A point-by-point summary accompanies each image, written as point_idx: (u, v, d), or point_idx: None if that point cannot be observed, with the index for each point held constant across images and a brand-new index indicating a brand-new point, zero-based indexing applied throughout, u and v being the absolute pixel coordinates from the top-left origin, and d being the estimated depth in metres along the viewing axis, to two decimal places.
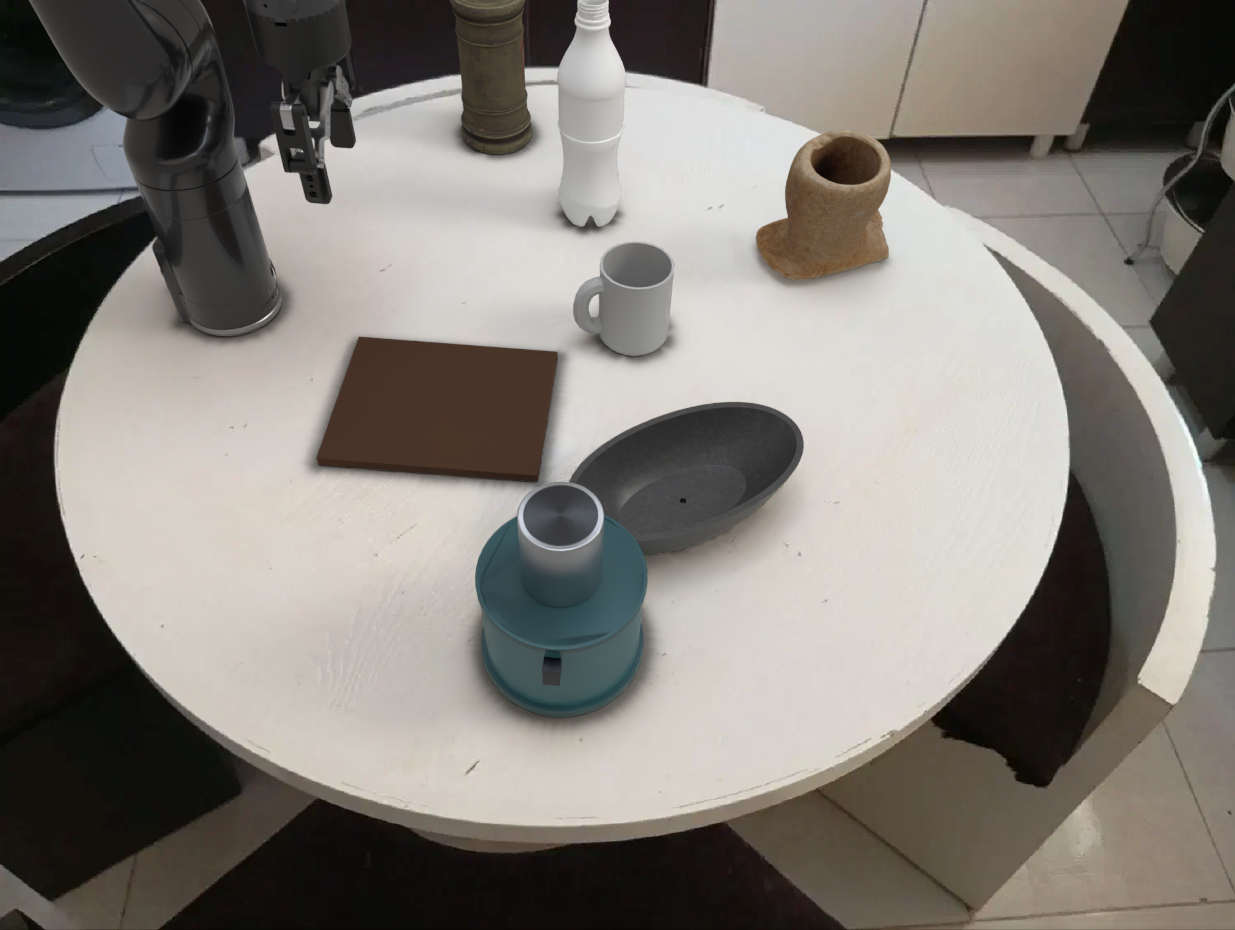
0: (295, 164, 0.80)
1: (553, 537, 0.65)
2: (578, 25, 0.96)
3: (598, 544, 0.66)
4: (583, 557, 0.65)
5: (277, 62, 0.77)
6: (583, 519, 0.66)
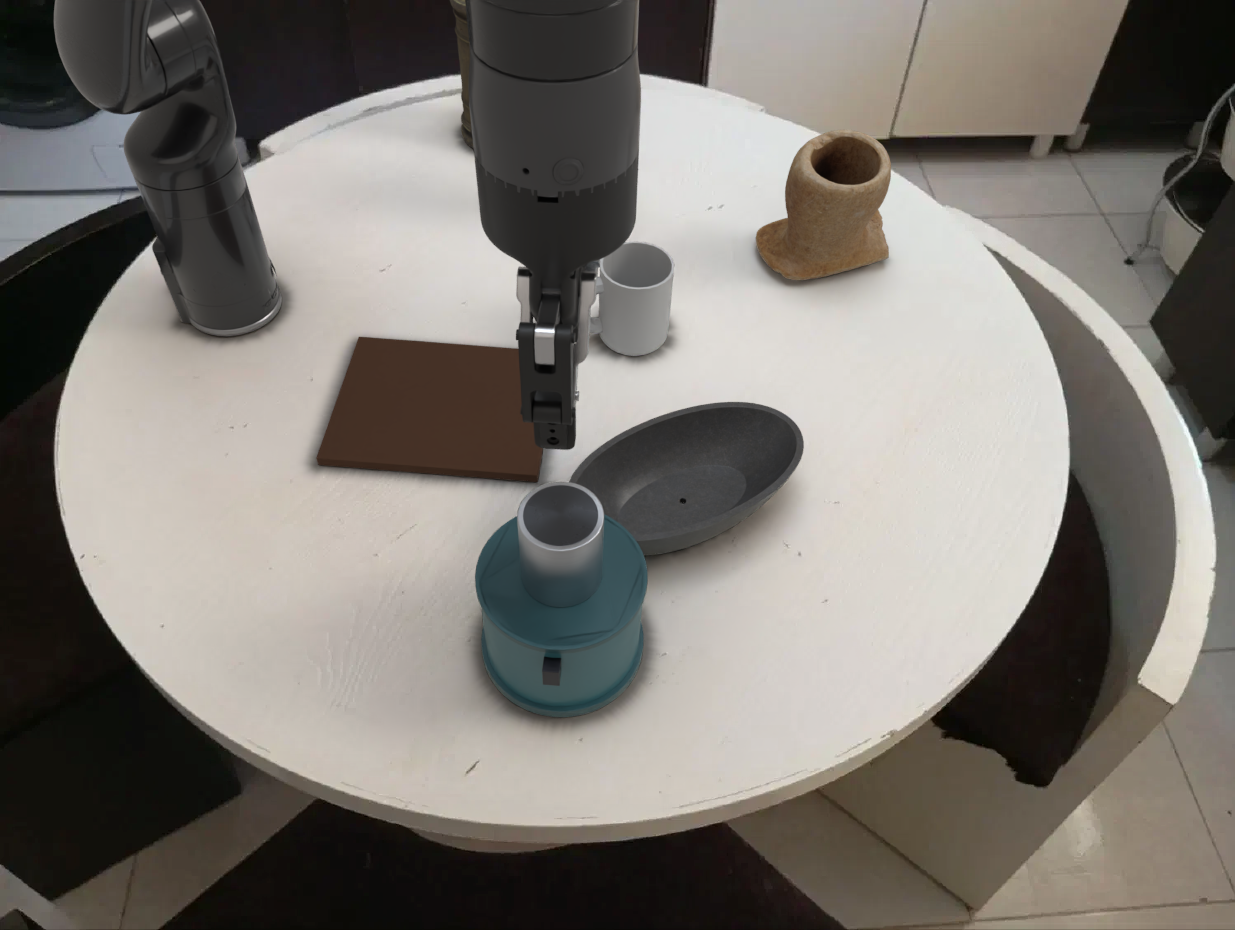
0: (543, 411, 0.49)
1: (553, 537, 0.65)
2: None
3: (598, 544, 0.66)
4: (583, 557, 0.65)
5: (527, 255, 0.45)
6: (583, 519, 0.66)
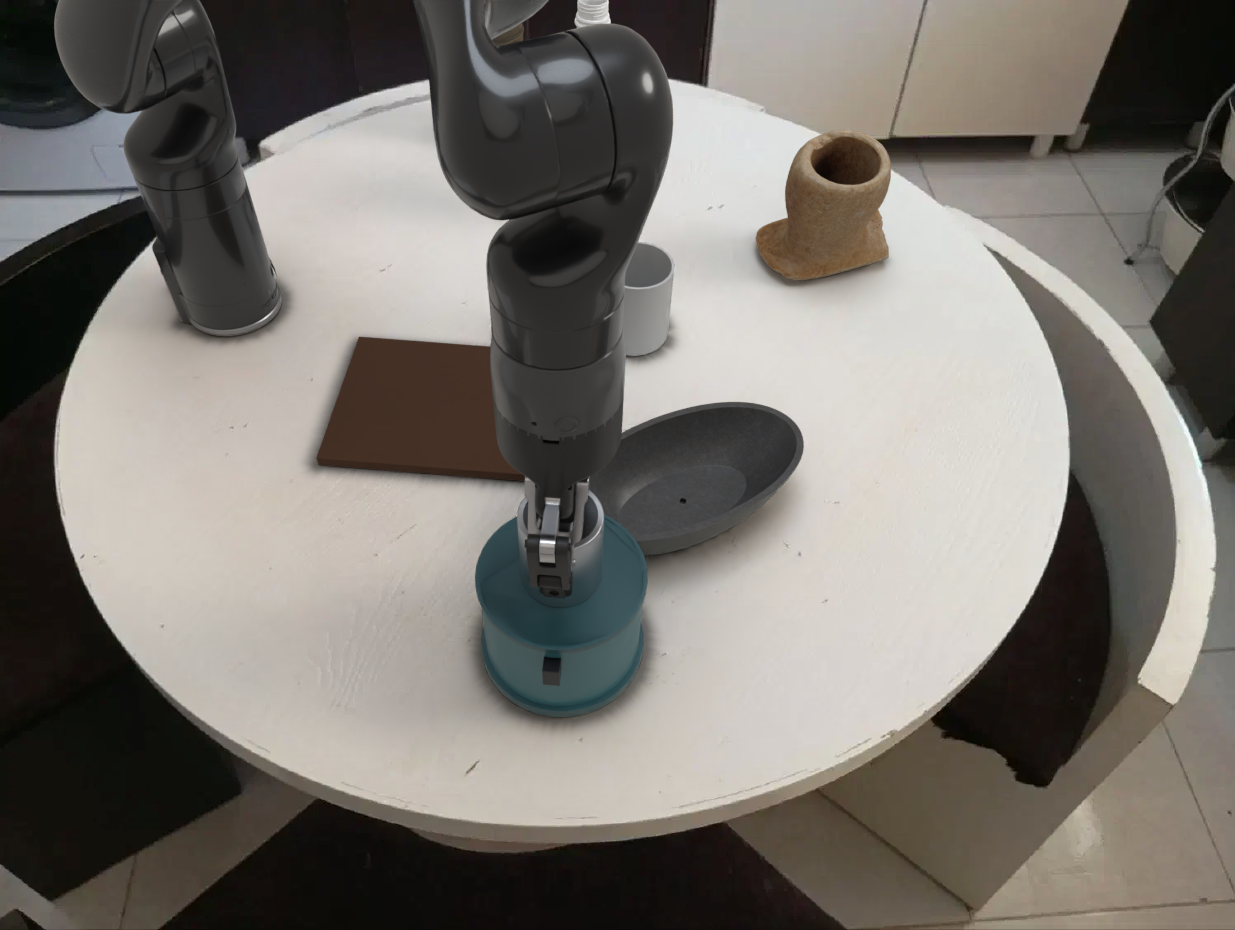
0: (546, 580, 0.61)
1: None
2: (578, 25, 0.96)
3: (598, 544, 0.66)
4: (583, 557, 0.65)
5: (534, 474, 0.57)
6: None
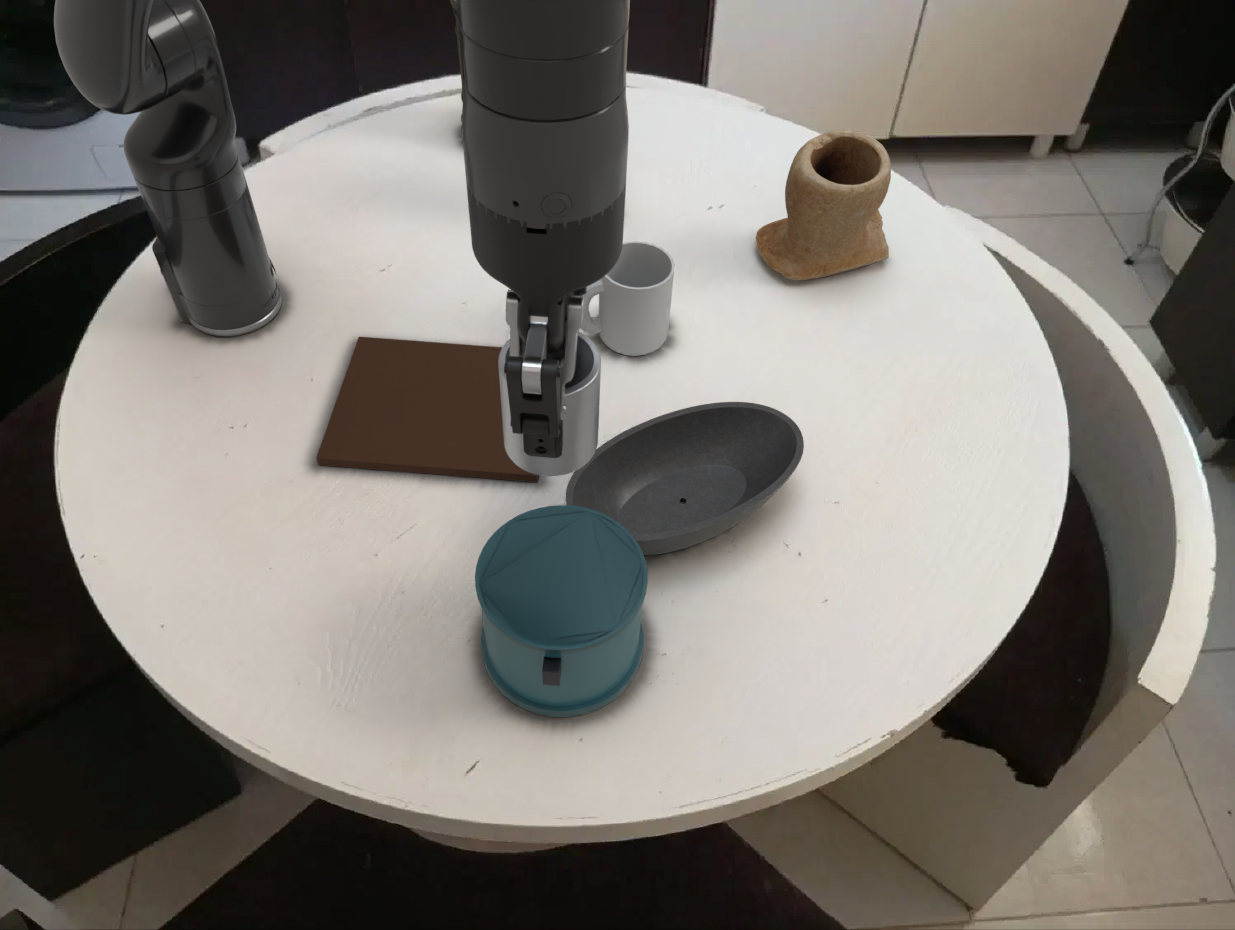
0: (531, 423, 0.51)
1: None
2: None
3: (594, 395, 0.56)
4: (576, 408, 0.55)
5: (516, 281, 0.47)
6: (576, 364, 0.56)
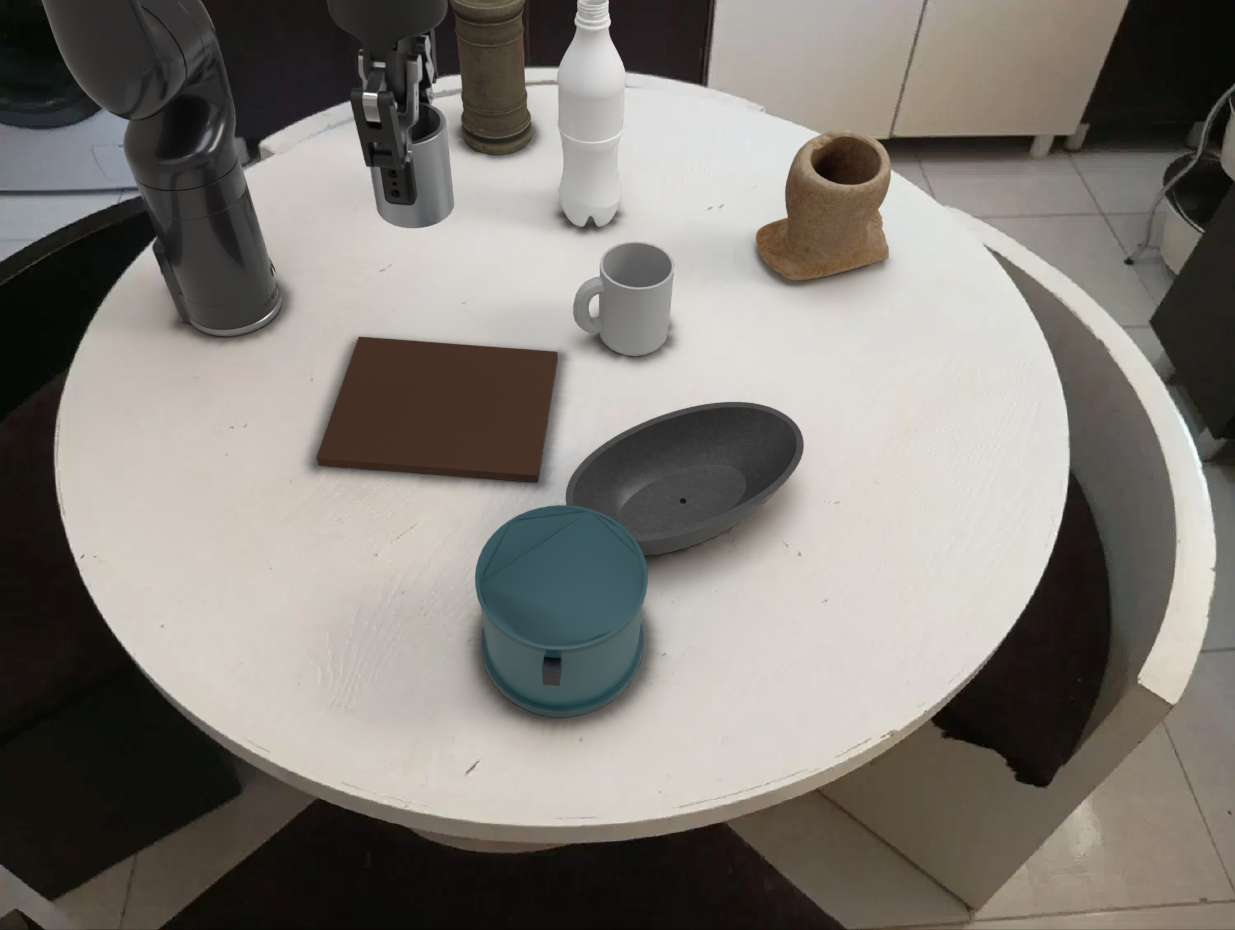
0: (379, 156, 0.65)
1: None
2: (578, 25, 0.96)
3: (440, 152, 0.70)
4: (424, 160, 0.69)
5: (358, 28, 0.61)
6: (425, 125, 0.70)
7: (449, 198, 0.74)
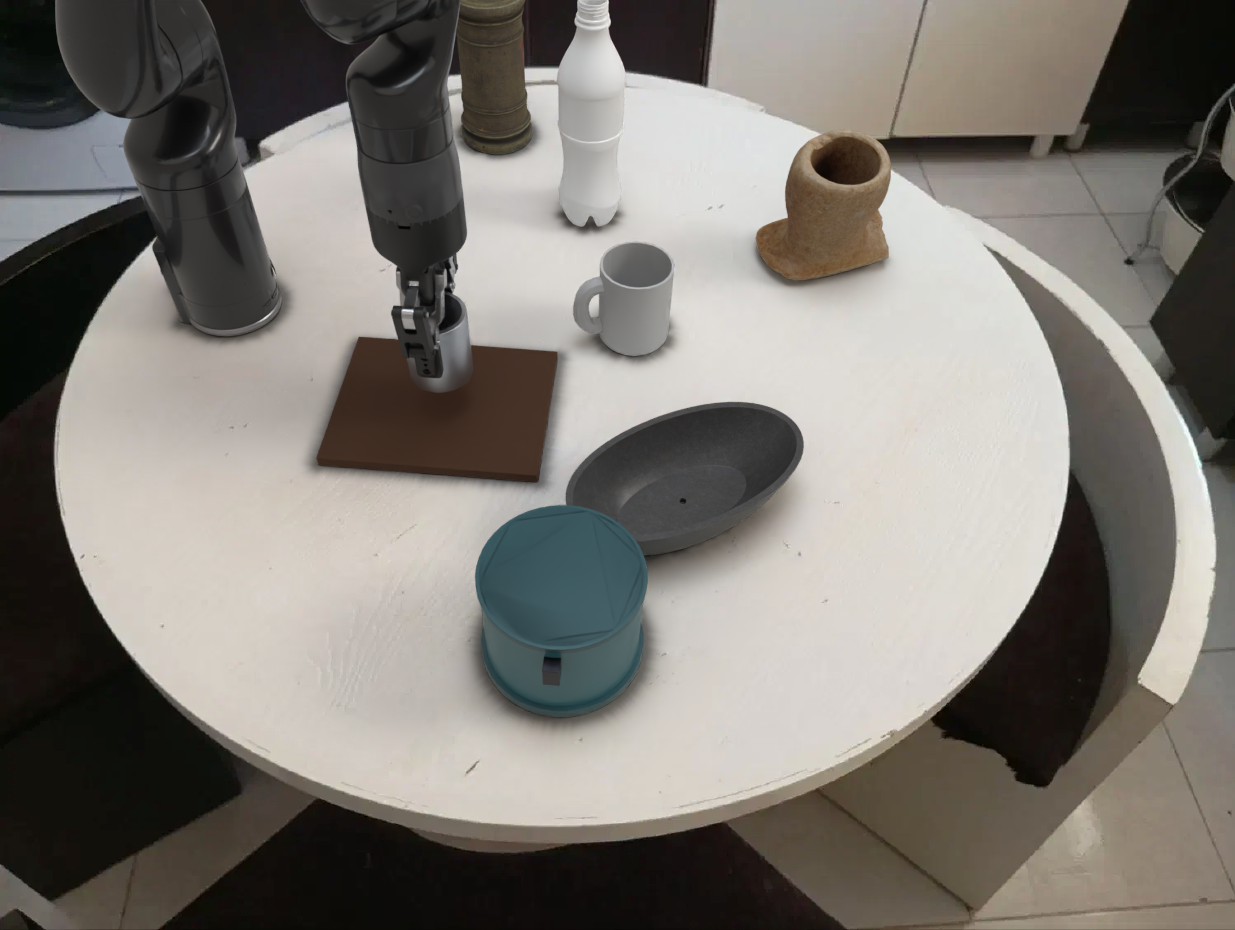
0: (414, 350, 0.81)
1: None
2: (578, 25, 0.96)
3: (462, 335, 0.86)
4: (450, 344, 0.85)
5: (396, 259, 0.77)
6: (449, 314, 0.85)
7: (469, 366, 0.89)
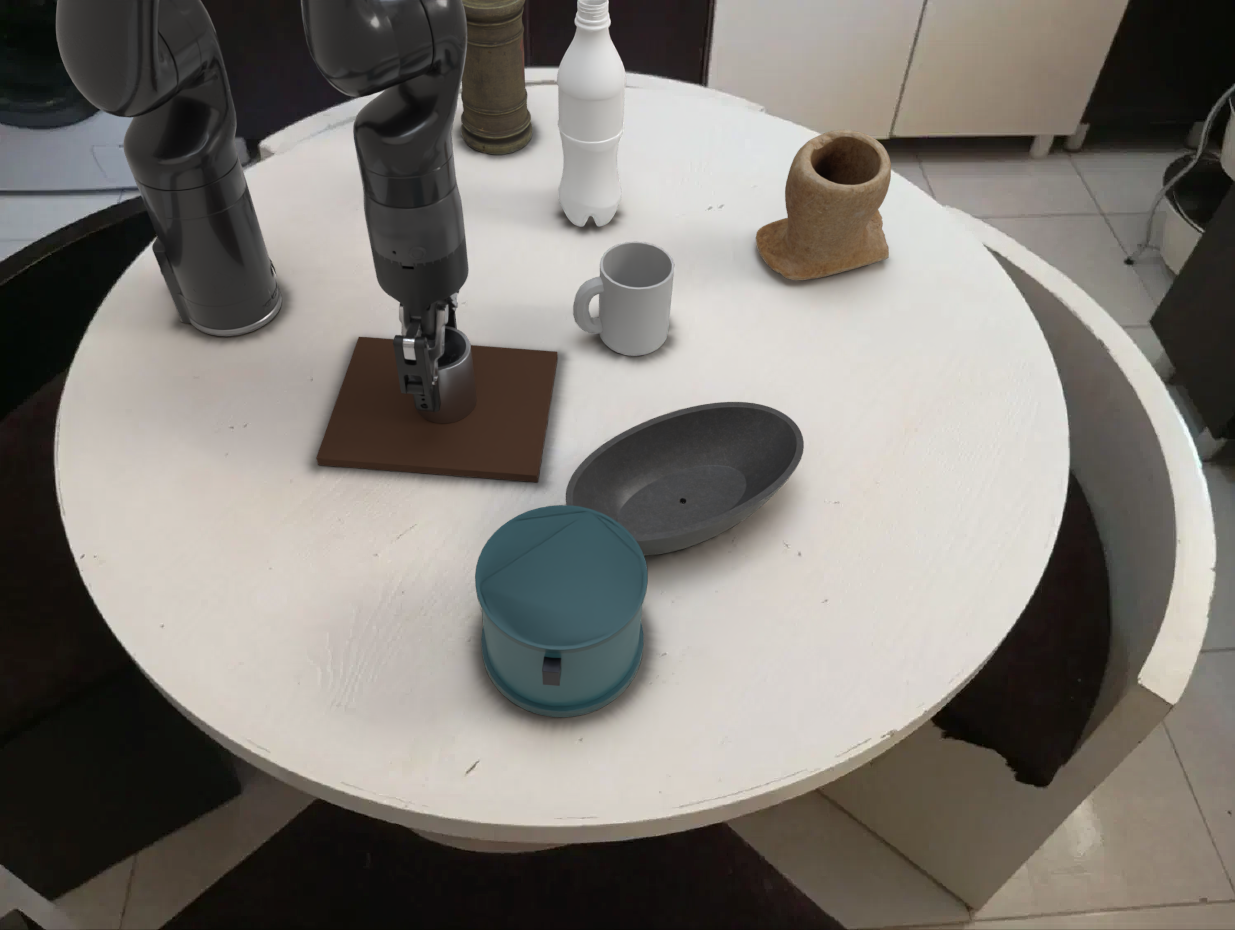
0: (412, 387, 0.82)
1: None
2: (578, 25, 0.96)
3: (466, 369, 0.89)
4: (454, 378, 0.88)
5: (400, 296, 0.79)
6: (454, 350, 0.88)
7: (473, 398, 0.92)
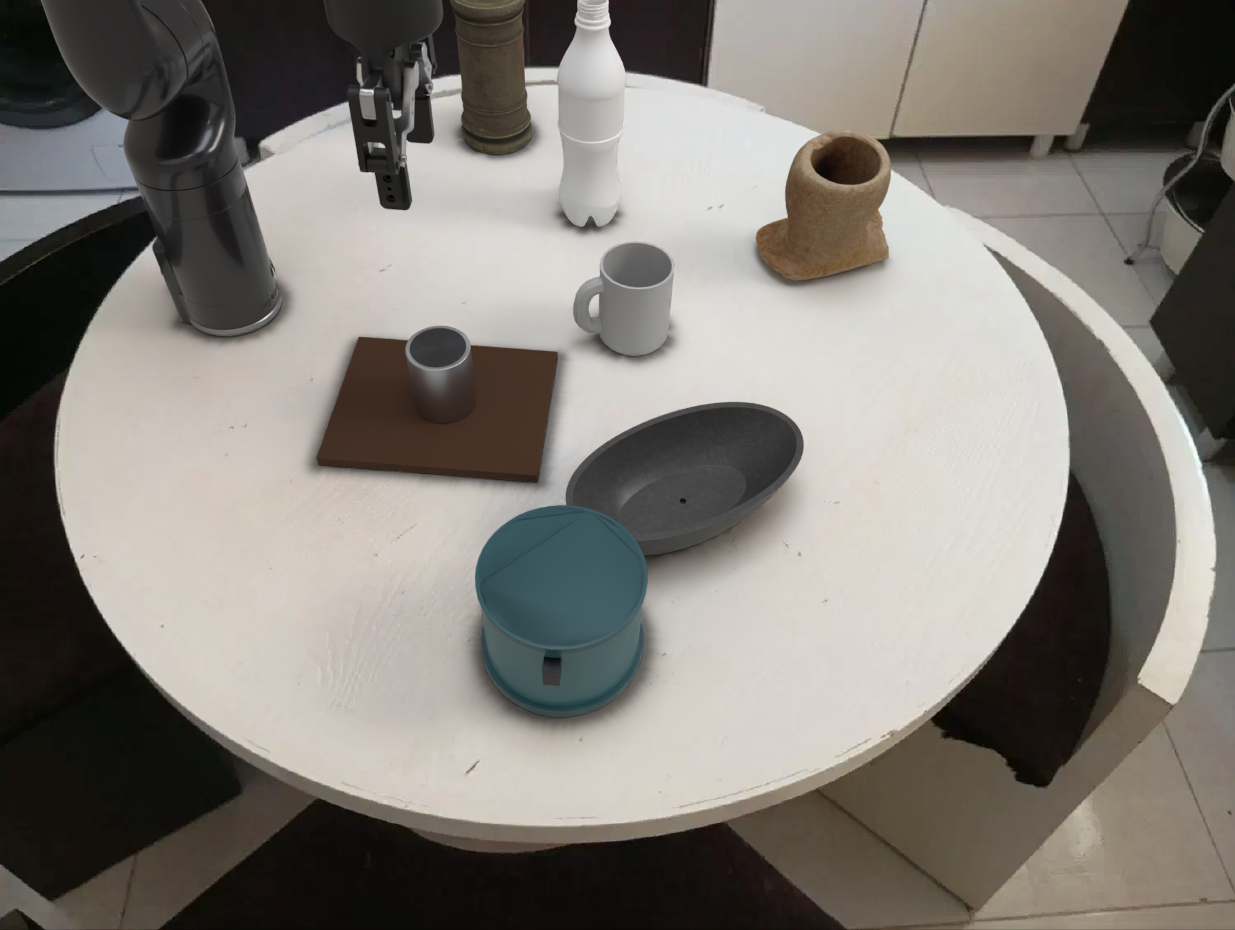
0: (374, 162, 0.66)
1: (431, 362, 0.87)
2: (578, 25, 0.96)
3: (466, 369, 0.89)
4: (454, 378, 0.88)
5: (356, 36, 0.63)
6: (454, 350, 0.88)
7: (473, 398, 0.92)
